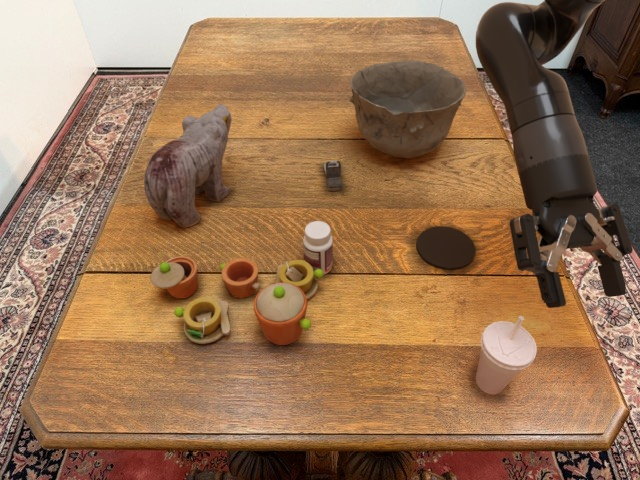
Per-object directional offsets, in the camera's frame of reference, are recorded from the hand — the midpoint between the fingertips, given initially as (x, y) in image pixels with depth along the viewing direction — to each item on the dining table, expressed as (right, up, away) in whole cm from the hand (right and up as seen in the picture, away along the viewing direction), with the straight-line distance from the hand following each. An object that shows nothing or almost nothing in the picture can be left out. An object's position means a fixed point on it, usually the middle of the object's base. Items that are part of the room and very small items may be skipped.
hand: (587, 301), depth 52 cm
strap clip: (-27, +19, +43) cm, 54 cm away
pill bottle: (-30, +2, +27) cm, 40 cm away
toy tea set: (-42, -4, +21) cm, 47 cm away
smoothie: (-7, -12, +11) cm, 18 cm away
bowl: (-12, +27, +51) cm, 59 cm away
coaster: (-8, +5, +29) cm, 30 cm away
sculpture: (-53, +15, +39) cm, 68 cm away
